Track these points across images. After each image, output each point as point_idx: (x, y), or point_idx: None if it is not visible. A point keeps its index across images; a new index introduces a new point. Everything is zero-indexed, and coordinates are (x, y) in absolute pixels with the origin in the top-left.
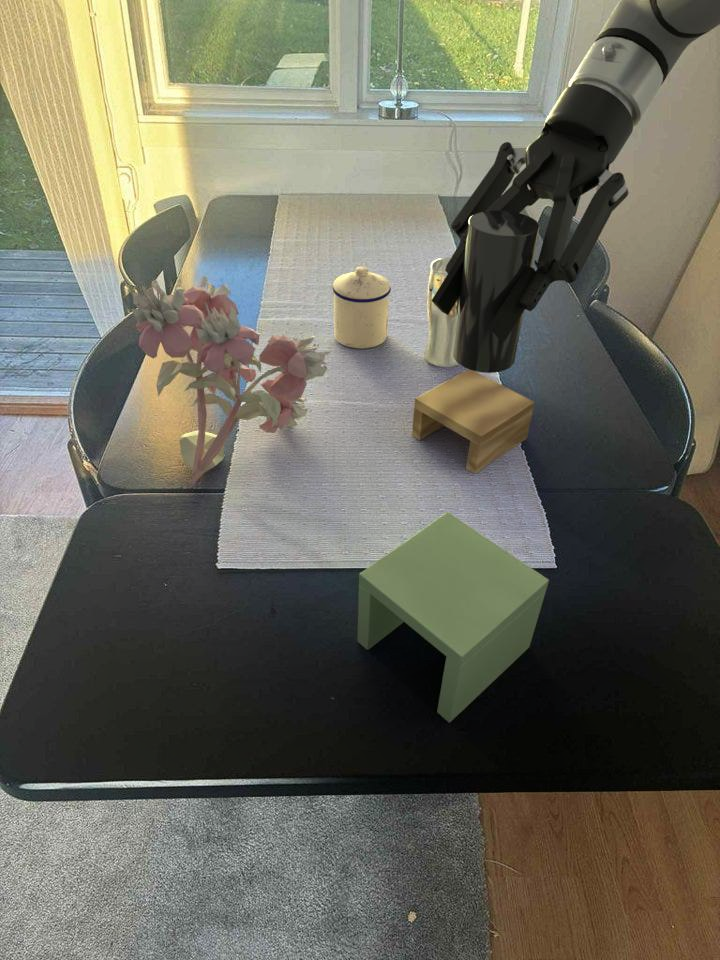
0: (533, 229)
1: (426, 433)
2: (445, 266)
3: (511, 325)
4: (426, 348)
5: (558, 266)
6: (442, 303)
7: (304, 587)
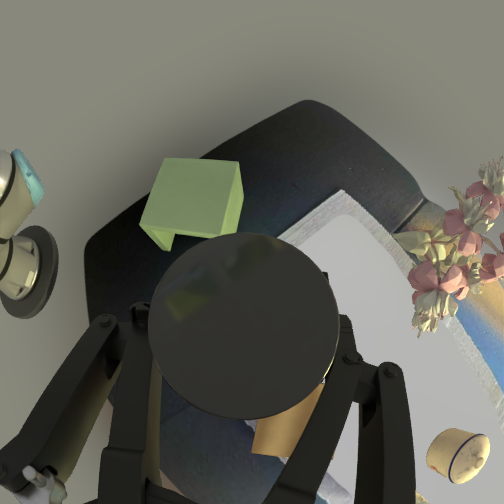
0: (156, 328)
1: None
2: None
3: None
4: None
5: (114, 318)
6: None
7: (293, 206)
